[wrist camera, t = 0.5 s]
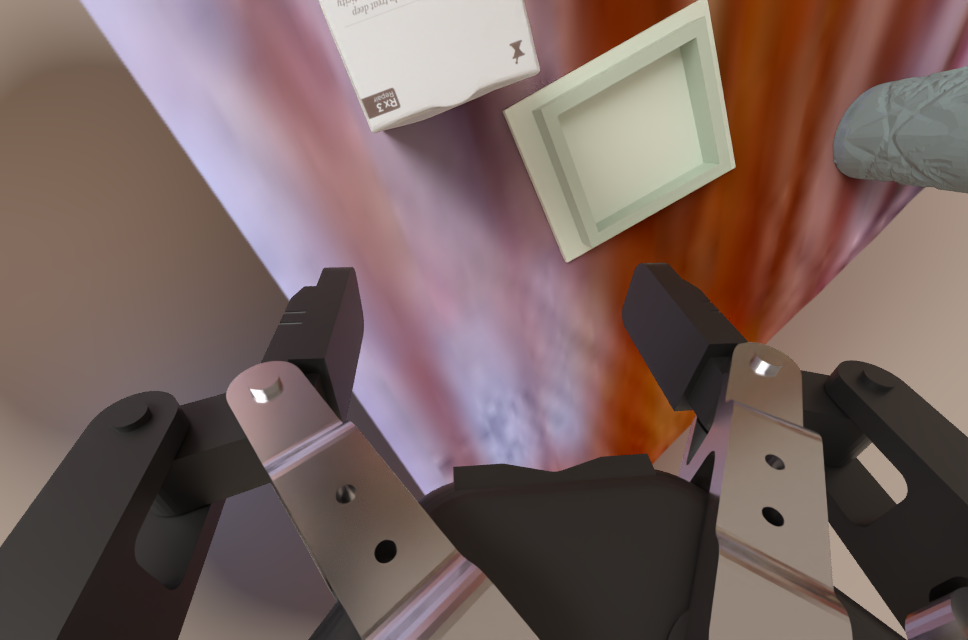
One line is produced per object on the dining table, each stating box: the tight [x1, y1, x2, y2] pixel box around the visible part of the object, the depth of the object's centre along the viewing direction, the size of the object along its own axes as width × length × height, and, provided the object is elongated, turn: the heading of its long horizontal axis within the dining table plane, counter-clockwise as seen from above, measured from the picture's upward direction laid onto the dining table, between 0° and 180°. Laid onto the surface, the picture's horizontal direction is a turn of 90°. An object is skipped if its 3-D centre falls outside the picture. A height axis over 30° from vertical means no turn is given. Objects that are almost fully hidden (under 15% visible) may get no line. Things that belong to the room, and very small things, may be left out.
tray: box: [502, 0, 735, 263], centre depth 34 cm, size 14×18×3 cm
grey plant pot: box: [833, 66, 968, 193], centre depth 35 cm, size 10×10×12 cm
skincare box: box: [318, 0, 540, 133], centre depth 23 cm, size 8×6×15 cm
